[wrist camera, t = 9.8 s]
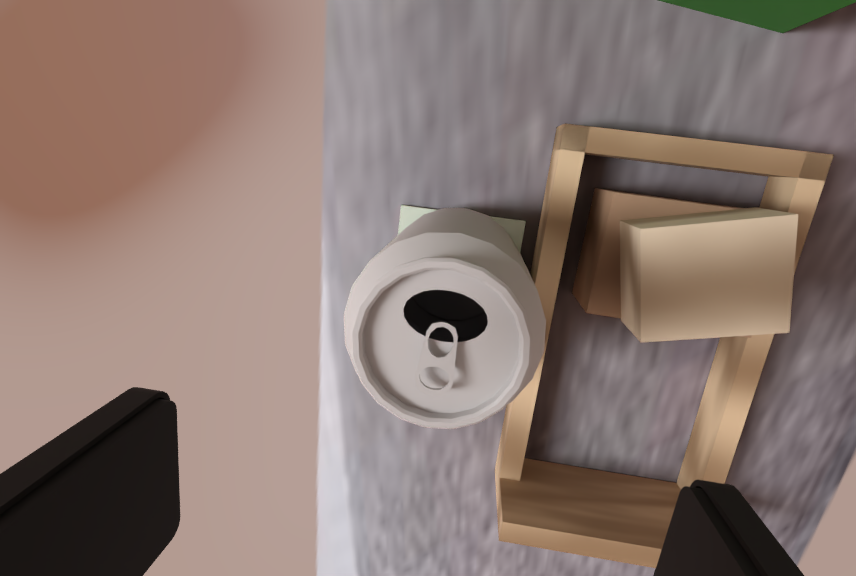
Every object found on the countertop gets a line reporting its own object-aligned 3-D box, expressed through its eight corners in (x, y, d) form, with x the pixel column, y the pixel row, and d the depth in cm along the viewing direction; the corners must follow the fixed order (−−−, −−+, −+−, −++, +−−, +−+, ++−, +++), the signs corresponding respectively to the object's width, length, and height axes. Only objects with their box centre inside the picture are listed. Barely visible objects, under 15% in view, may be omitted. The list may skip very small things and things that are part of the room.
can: (533, 217, 26) (578, 261, 15) (506, 342, 28) (527, 467, 17) (400, 195, 27) (341, 220, 15) (383, 320, 29) (319, 427, 17)
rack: (556, 127, 25) (580, 116, 19) (799, 155, 24) (900, 153, 19) (494, 469, 31) (498, 540, 25) (691, 502, 30) (741, 583, 24)
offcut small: (619, 220, 23) (640, 229, 20) (755, 207, 22) (798, 214, 19) (621, 320, 24) (640, 342, 21) (750, 311, 23) (789, 332, 20)
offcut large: (593, 187, 26) (614, 192, 22) (743, 208, 26) (791, 216, 22) (571, 292, 28) (586, 313, 24) (711, 313, 27) (750, 338, 23)
